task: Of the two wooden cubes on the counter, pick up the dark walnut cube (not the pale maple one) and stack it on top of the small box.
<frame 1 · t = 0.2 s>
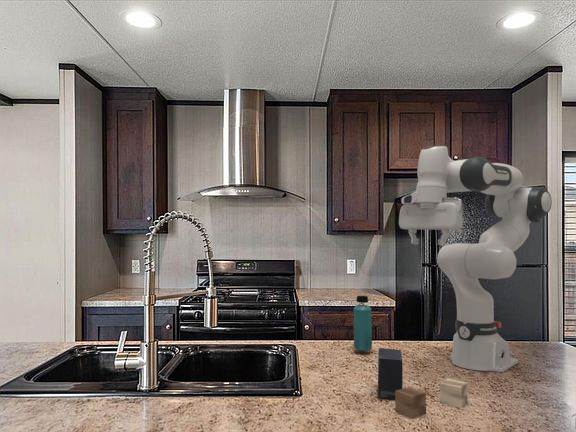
hand: (427, 244, 135), 39 cm above the countertop, tool pointing down, fingers open, 8 cm apart
maple cube: (454, 403, 115), on the countertop
small box: (390, 393, 122), on the countertop
beverage bottle: (362, 353, 162), on the countertop
walnut cube: (410, 412, 109), on the countertop
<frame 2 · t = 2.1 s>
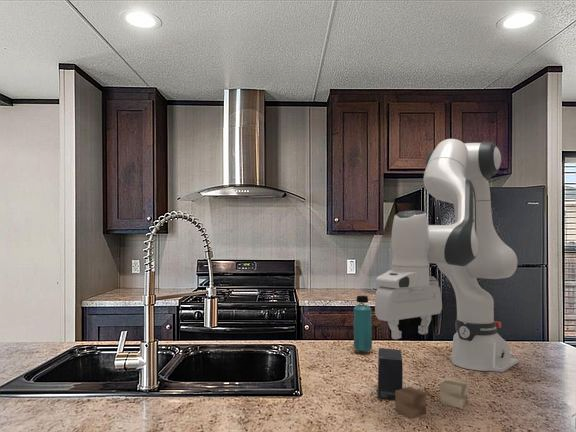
hand: (410, 336, 109), 18 cm above the countertop, tool pointing down, fingers open, 8 cm apart
nothing on the countertop moved.
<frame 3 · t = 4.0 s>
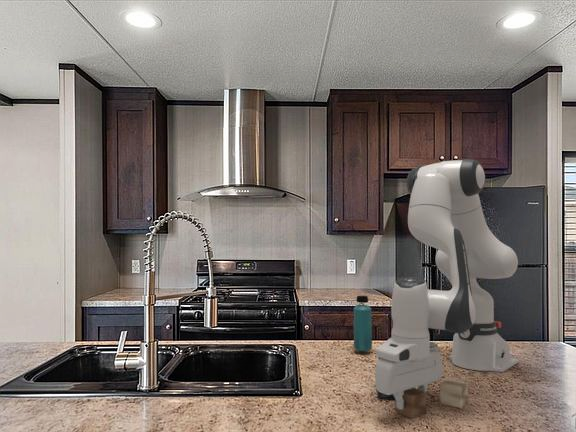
hand: (410, 405, 109), 2 cm above the countertop, tool pointing down, fingers closed on walnut cube, 5 cm apart
walnut cube: (410, 412, 109), on the countertop, touching gripper
everything else where it was.
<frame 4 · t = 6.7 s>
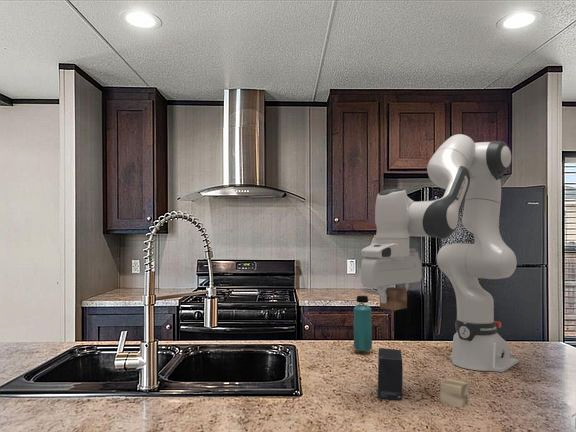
hand: (393, 301, 121), 24 cm above the countertop, tool pointing down, fingers closed on walnut cube, 5 cm apart
walnut cube: (393, 307, 121), point 23 cm above the countertop, touching gripper
everything else where it was.
when the fingers open (14 cm above the countertop, at t = 9.5 s): walnut cube drops 2 cm, resting on small box.
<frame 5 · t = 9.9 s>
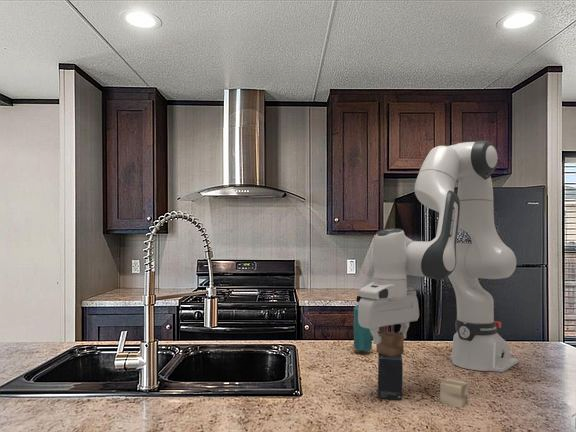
hand: (390, 341, 122), 14 cm above the countertop, tool pointing down, fingers open, 8 cm apart
small box: (389, 393, 122), on the countertop, touching walnut cube
walnut cube: (389, 353, 122), point 10 cm above the countertop, touching small box
everything else where it was.
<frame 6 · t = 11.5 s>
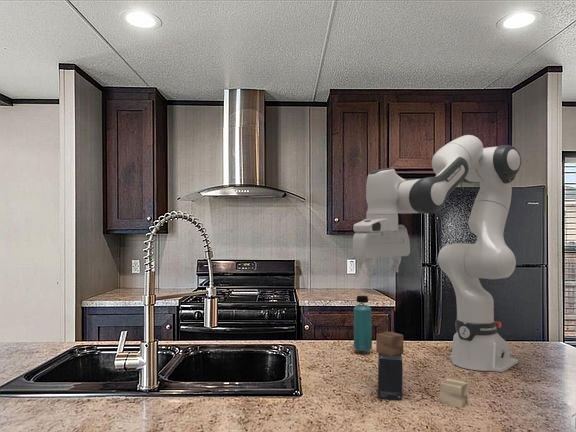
hand: (383, 273, 130), 31 cm above the countertop, tool pointing down, fingers open, 8 cm apart
nothing on the countertop moved.
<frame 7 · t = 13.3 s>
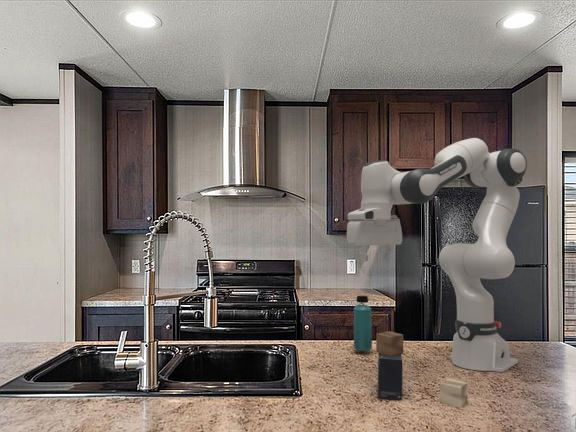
hand: (375, 260, 137), 34 cm above the countertop, tool pointing down, fingers open, 8 cm apart
nothing on the countertop moved.
at the end: walnut cube inside the target area on the small box (0.1 cm from its centre), point 10.7 cm above the small box's base; walnut cube tilted 0°; the gripper is holding nothing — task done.
